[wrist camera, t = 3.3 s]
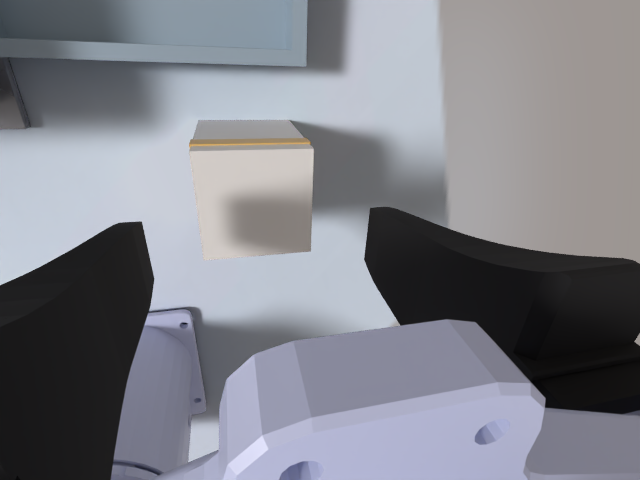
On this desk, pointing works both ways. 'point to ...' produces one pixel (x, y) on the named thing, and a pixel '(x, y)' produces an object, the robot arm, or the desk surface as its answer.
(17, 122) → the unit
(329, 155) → the desk surface
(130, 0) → the tray
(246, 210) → the part block
